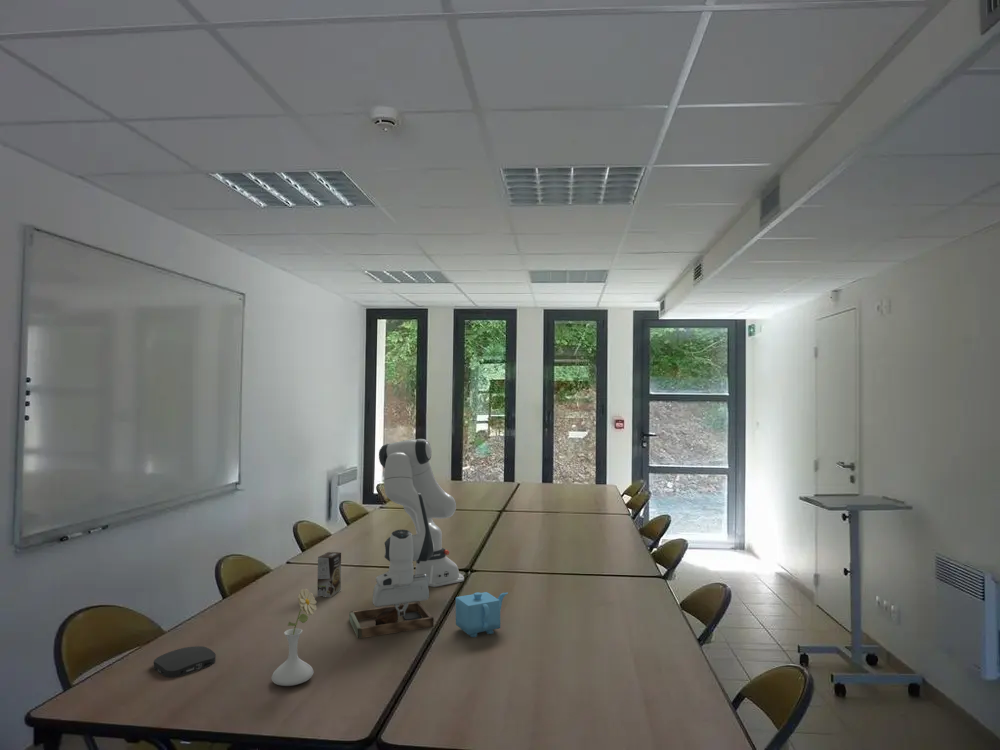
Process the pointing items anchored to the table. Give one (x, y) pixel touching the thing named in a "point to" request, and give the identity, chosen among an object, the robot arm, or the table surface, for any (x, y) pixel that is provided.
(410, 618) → the trap pits
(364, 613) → the box
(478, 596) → the teapot
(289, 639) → the flower in vase
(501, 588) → the table surface
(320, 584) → the coffee box
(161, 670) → the media streaming box
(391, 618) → the brick
